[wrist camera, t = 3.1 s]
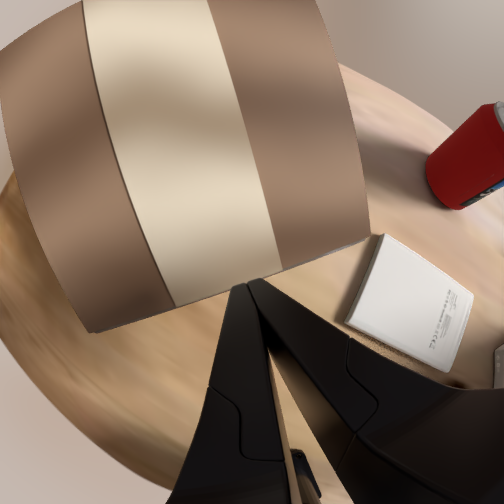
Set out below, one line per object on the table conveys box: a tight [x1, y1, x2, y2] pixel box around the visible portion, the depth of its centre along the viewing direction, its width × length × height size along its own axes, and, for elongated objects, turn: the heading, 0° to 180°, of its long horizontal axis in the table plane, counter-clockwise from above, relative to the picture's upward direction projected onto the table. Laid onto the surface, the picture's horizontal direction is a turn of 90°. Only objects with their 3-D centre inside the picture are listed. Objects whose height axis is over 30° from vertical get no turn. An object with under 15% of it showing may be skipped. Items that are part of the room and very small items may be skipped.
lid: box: [0, 0, 371, 333], centre depth 10 cm, size 15×14×1 cm
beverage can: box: [426, 101, 504, 210], centre depth 18 cm, size 7×7×12 cm
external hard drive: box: [344, 233, 474, 373], centre depth 21 cm, size 2×8×12 cm
